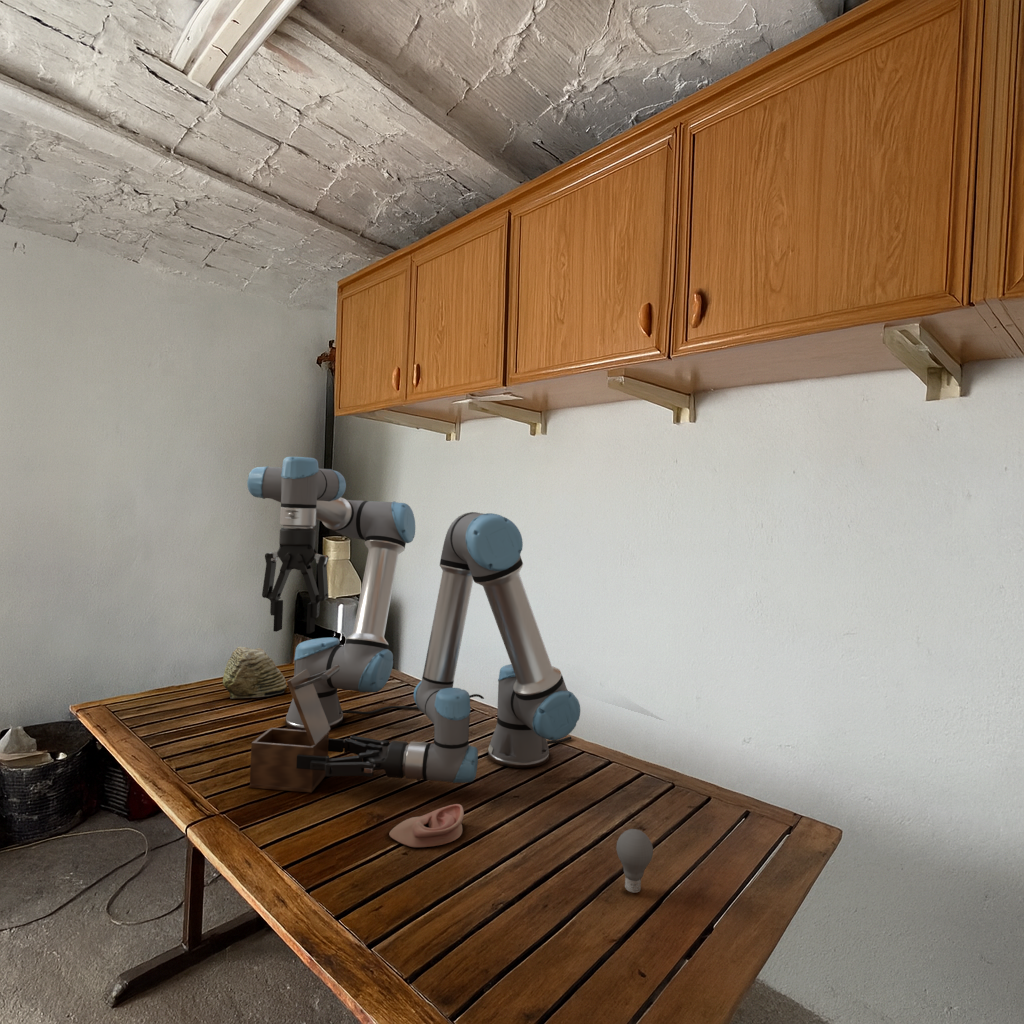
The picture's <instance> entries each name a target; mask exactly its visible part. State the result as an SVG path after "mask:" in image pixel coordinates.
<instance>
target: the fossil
mask: <svg viewBox="0 0 1024 1024" xmlns="http://www.w3.org/2000/svg"><path fill="white" fill-rule="evenodd" d="M222 676H223V677H222V685H223V687H224V688H225V690H226V691H228V693H229V698H230V699H250V698H264V697H271V696H275V695H281V694H284V693H285V691H286V689H287V687H288V684H287V680H286V678H285V676H284V674H283V673H282V672H281V669H279V668H278V667H277V665H276V663H275V662H274V660H273V659H272V658H271V657H270V656H269V655H268V654H267V653H266V652H265V650H264V649H263V648H260V647H258V648H251V647H247V646H246V647H245V646H238V647H237V648H236V649H235V650H233V651H232V653H231V656H230V657H229V659H228V660H227V663H226V666H225V668H224V671H223V675H222Z"/></svg>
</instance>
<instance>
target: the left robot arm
mask: <svg viewBox="0 0 1024 1024" xmlns="http://www.w3.org/2000/svg"><path fill="white" fill-rule="evenodd" d="M247 477H248V478H247V480H246V481H247V484H246V485H247V489H248V492H249V493H250V495H251V496H253V497H255V498H259V499H264V500H265V499H270V500H273V501H276V502H278V503H280V519H279V525H281V526H282V527H281V528H280V529H279V538H278V539H279V541H278V543H279V547H278V550H277V551H275V552H266V553H265V554H264V559H265V571H264V578H263V585H262V592H261V597H262V598H263V599H268V600H269V601H270V605H269V606H270V609H269V610H270V611H269V613H270V616H273V630H272V631H273V632H277V633H278V632H279V631H281V630H283V616H284V615H283V614H284V600H283V599H282V597H281V596H282V593H283V590H284V588H285V585H286V584H287V581H288V578H289V575H290V573H291V572H292V571H293V570H296V571H300V573H301V575H302V576H303V579H304V583H305V586H306V589H307V592H308V596H309V600H310V602H309V603H307V605H306V606H307V610H306V631H305V632H306V634H308V635H309V634H313V633H314V632H315V628H316V619H317V618H318V617H319V616H320V607H321V605H320V603H321V602H324V601H327V600H328V599H329V596H330V595H329V582H328V567H327V566H328V564H329V563H328V562H329V559H330V557H329V555H327V554H324V555H323V554H320V553H317V552H318V551H317V550H316V548H315V547H316V535H317V534H316V533H317V531H316V529H315V528H314V527H315V526H317V520H318V521H320V522H322V524H323V525H324V527H325V528H327V529H329V530H331V531H334V532H336V533H338V534H341V535H343V536H346V537H349V538H352V539H355V540H361V541H364V546H365V547H366V548H367V550H368V551H367V552H368V553H367V556H366V561H365V568H364V572H363V578H362V582H361V583H362V584H361V589H360V594H359V599H358V604H357V608H356V609H357V610H356V615H355V620H354V625H353V630H352V633H351V634H350V635H348V636H347V637H346V638H345V643H344V645H342V644H340V643H341V641H340V639H339V638H338V637H318V638H313V639H307V640H304V641H302V642H299V643H298V644H297V645H296V647H295V652H294V653H295V654H294V659H293V661H294V672H293V677H294V676H296V675H297V674H299V673H300V672H302V671H304V670H306V669H307V670H308V672H309V675H310V677H311V676H313V675H316V674H319V673H321V672H324V671H326V670H329V669H331V668H332V667H333V666H335V665H339V666H340V670H339V671H338V672H336V673H335V674H334V675H332V676H331V677H330V678H329V679H327V680H325V681H324V680H320V681H318V682H315V683H313V685H314V688H315V690H316V693H317V695H318V698H319V700H320V703H321V706H322V708H323V711H324V713H325V716H326V718H327V721H328V724H329V726H330V730H332V729H335V728H337V727H339V726H340V725H342V723H343V722H344V714H353V715H355V714H356V715H372V714H373V715H374V714H376V713H379V712H382V711H386V710H394V709H399V710H400V709H401V710H402V709H403V710H420V709H419V708H418V707H417V706H408V705H390V706H384V707H380V708H377V709H375V710H371V711H359V710H344V709H342V706H341V702H340V699H339V695H338V690H344V691H345V690H346V691H353V692H359V693H378V692H380V691H381V690H382V689H383V688H384V687H385V685H386V684H387V683H388V681H389V679H390V677H391V675H392V671H393V668H394V667H393V666H394V660H393V659H394V654H393V652H392V651H391V650H390V649H389V642H388V641H387V639H386V638H385V634H386V629H387V622H388V617H389V611H390V606H391V600H392V593H393V588H394V582H395V577H396V570H397V566H398V560H399V556H400V554H401V553H403V552H405V549H406V545H407V544H410V543H412V542H413V541H414V539H415V537H416V536H415V535H416V519H415V515H414V511H413V508H412V507H411V506H410V505H409V504H407V503H406V502H397V501H379V500H377V501H376V500H355V499H353V500H352V499H346V498H345V497H343V495H344V494H345V492H346V489H347V482H346V479H345V477H344V475H343V474H342V473H341V472H340V471H337V470H333V469H332V468H320V467H319V461H318V459H316V458H314V457H307V456H286V457H284V458H283V460H282V467H279V466H268V465H266V466H257V467H254V468H252V469H251V470H250V472H249V473H248V476H247ZM278 560H280V562H281V566H280V568H279V574H278V576H277V578H276V581H275V577H276V570H277V562H278ZM314 560H315V563H316V564H317V565H316V567H317V570H316V572H317V583H316V580H315V576H314V573H313V571H314V569H313V566H312V563H313V562H314ZM274 583H275V584H274ZM317 584H318V585H317ZM320 677H321V676H320ZM312 680H313V679H312ZM469 695H470V699H471V698H475V697H476V698H477V697H478V698H480V699H482V700H484V699H485V697H484V696H483V695H481V694H479V693H473V694H469ZM285 726H286V728H287V729H294V730H305V728H304V725H303V723H302V720H301V717H300V715H299V712H298V710H297V707H296V705H295V702H294V699H293V698H292V699H291V702H290V704H289V708H288V711H287V713H286V715H285Z"/></svg>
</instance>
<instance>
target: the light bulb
mask: <svg viewBox="0 0 1024 1024" xmlns="http://www.w3.org/2000/svg"><path fill="white" fill-rule="evenodd" d="M615 849H616V854H617V857H618V859H619V861H620V863H621V865H622V867H623V873H624V874H623V875H624V876H625V878H624V888H625V890H627V891H628V892H630V893H634V894H635V893H639V892H640V891H641V889H642V887H641V886H642V879H643V877H644V875H645V871H646V868H647V867H648V866H649V864H650V863H651V861H652V859H653V855H654V847H653V843H652V841H651V838H649V836H648V835H647V834H646V833H645V832H643V831H642V830H641V829H636V828H629V829H627V830H625V831H623V832H622V833H621V834H620V835H619V837H618V839H617V841H616V847H615Z"/></svg>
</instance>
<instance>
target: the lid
mask: <svg viewBox="0 0 1024 1024" xmlns="http://www.w3.org/2000/svg"><path fill="white" fill-rule="evenodd" d="M339 670H340V666H339V665H335V666H333V667H332V668H331V669H329V670H326V671H324V672H321V673H319V674H316V675H313V676H311V677H310V675H309V672H308V670H307V669H306V670H304V671H302V672H300V673H299V674H297V675H296V676H294V675H293V677H291V678H290V679H288V680H286V685H287V687H288V689H289V691H290V695H291V696H292V699H294V702H295V705H296V707H297V710H298V712H299V715H300V717H301V720H302V723H303V725H304V728H305V730H306V733H307V735H308V738H309V741H310V743H311V746H313V745H315V744H316V743H317V742H318V741H319V740H320V739H321V738H322V737H323V736H324V735H325V734H326V733H327V732H330V731H331V729H330V726H329V724H328V721H327V718H326V716H325V713H324V711H323V708H322V706H321V703H320V700H319V698H318V695H317V693H316V690H315V688H314V685H313V683H315V682H318V681H320V680H324V681H325V680H327V679H329V678H330V677H331V676H332V675H334V674H335V673H336V672H338V671H339ZM320 676H321V677H320ZM312 679H313V680H312Z"/></svg>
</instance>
